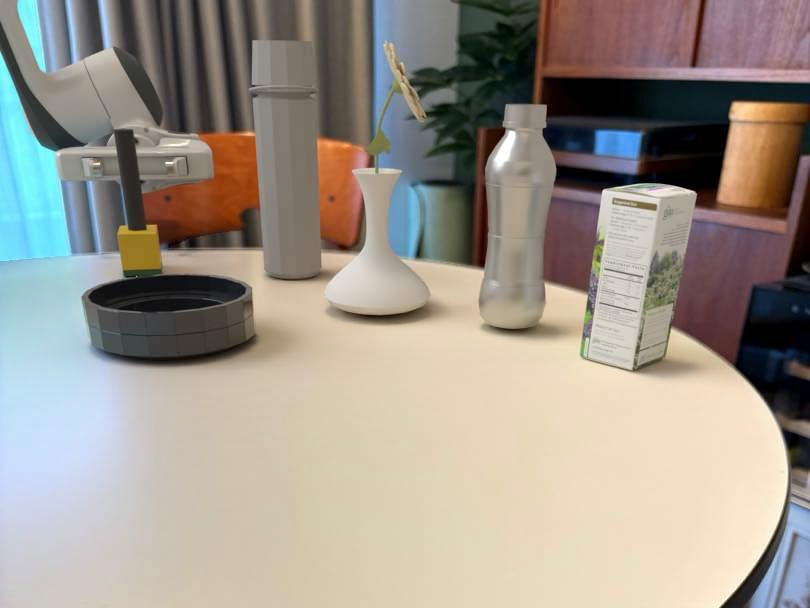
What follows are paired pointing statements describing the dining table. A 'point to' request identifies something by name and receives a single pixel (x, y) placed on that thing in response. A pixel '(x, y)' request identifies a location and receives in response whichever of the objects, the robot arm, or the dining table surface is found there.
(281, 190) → the water bottle
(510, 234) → the plastic bottle
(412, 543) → the dining table surface
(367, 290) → the flower in vase
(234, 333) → the bowl
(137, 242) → the sponge wand
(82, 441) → the dining table surface
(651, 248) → the syrup box
